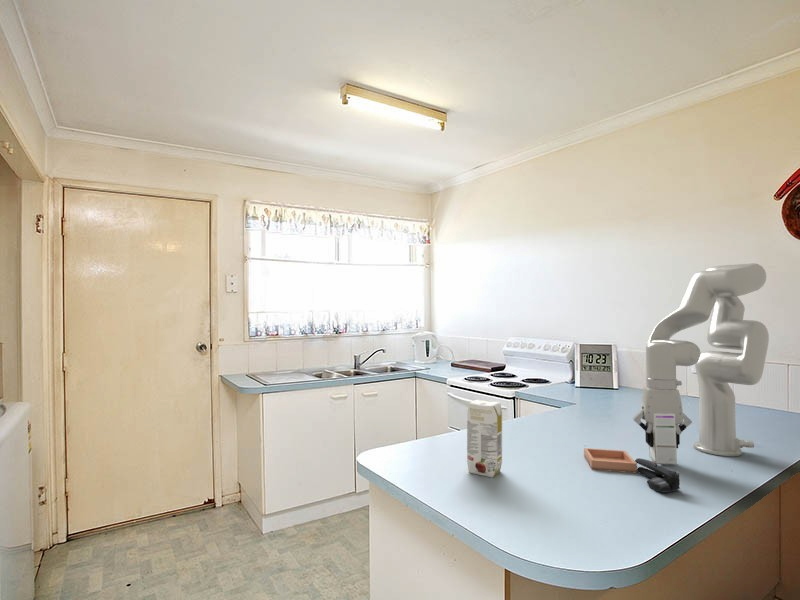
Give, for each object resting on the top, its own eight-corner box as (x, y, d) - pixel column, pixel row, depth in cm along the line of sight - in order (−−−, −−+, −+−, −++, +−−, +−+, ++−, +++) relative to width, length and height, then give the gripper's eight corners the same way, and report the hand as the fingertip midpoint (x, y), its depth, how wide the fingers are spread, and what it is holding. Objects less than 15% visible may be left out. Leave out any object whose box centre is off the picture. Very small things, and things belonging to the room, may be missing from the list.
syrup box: (677, 464, 128) (676, 413, 128) (655, 463, 129) (654, 412, 130) (670, 458, 134) (669, 409, 134) (648, 457, 135) (647, 408, 135)
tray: (625, 459, 135) (625, 450, 135) (636, 472, 124) (636, 463, 124) (584, 456, 138) (584, 448, 138) (591, 469, 126) (591, 460, 126)
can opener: (688, 497, 108) (688, 473, 108) (658, 496, 109) (658, 473, 109) (651, 470, 126) (651, 450, 126) (626, 470, 126) (625, 450, 126)
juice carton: (494, 479, 118) (494, 406, 119) (464, 473, 123) (464, 402, 123) (504, 470, 124) (504, 401, 125) (475, 465, 129) (475, 398, 129)
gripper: (688, 382, 134) (690, 444, 134) (625, 381, 137) (627, 441, 137) (699, 387, 126) (701, 452, 126) (632, 385, 130) (634, 448, 130)
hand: (662, 445), depth 132 cm, fingers closed on syrup box, 5 cm apart
